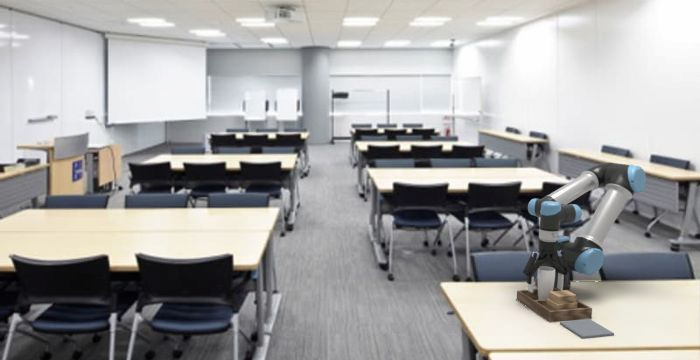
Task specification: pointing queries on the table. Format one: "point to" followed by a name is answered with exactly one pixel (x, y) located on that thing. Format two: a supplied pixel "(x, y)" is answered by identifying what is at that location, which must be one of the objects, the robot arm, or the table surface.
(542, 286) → the drinking glass
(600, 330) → the mat
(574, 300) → the offcut top
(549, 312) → the tray
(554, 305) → the offcut middle
